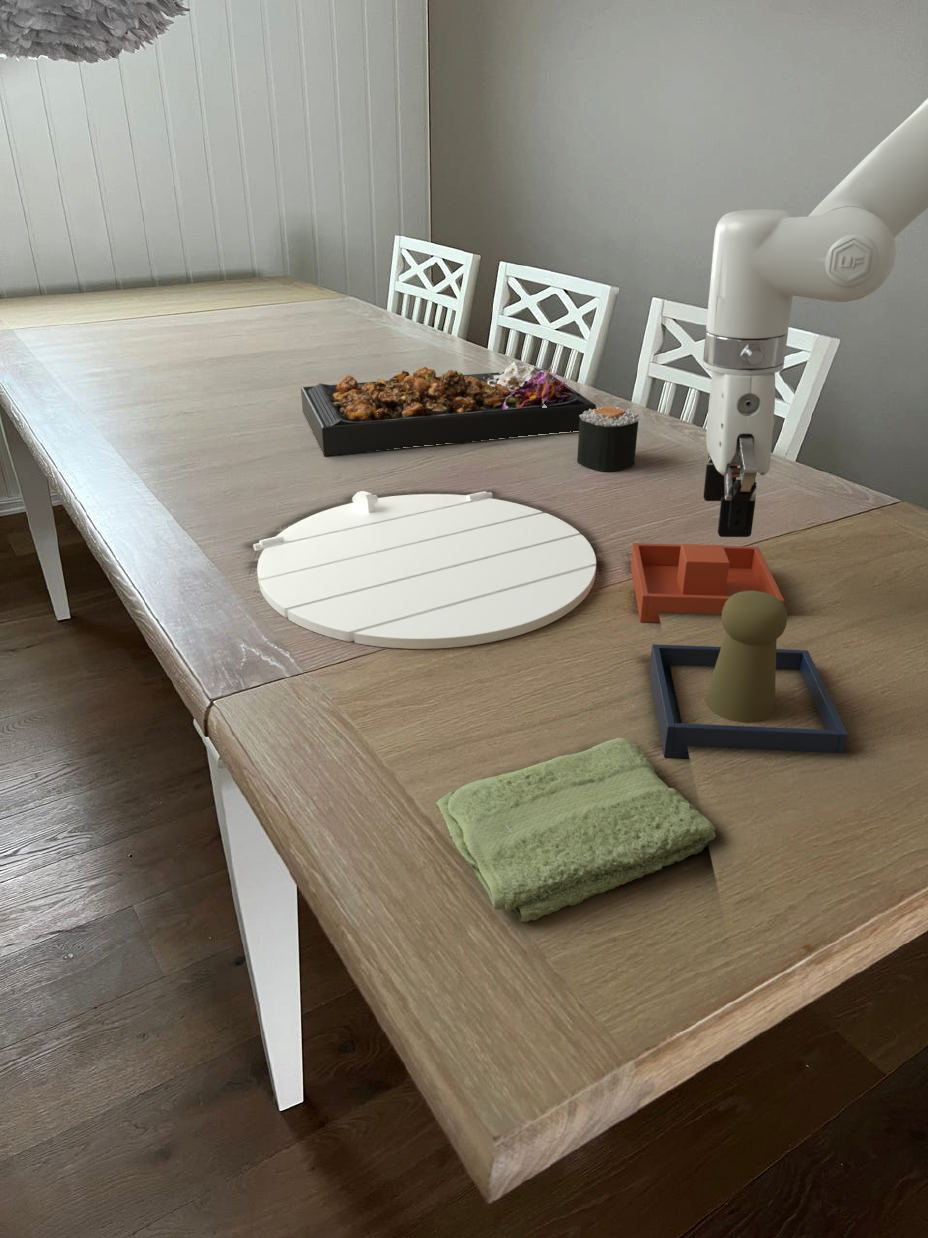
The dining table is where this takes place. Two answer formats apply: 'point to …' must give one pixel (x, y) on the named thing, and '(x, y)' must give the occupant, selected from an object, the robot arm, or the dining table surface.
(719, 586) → the terracotta block
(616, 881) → the washcloth
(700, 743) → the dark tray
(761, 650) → the olive pawn
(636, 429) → the sushi
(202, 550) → the dining table surface
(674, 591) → the terracotta tray
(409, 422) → the food platter
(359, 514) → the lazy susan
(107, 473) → the dining table surface
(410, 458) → the dining table surface
